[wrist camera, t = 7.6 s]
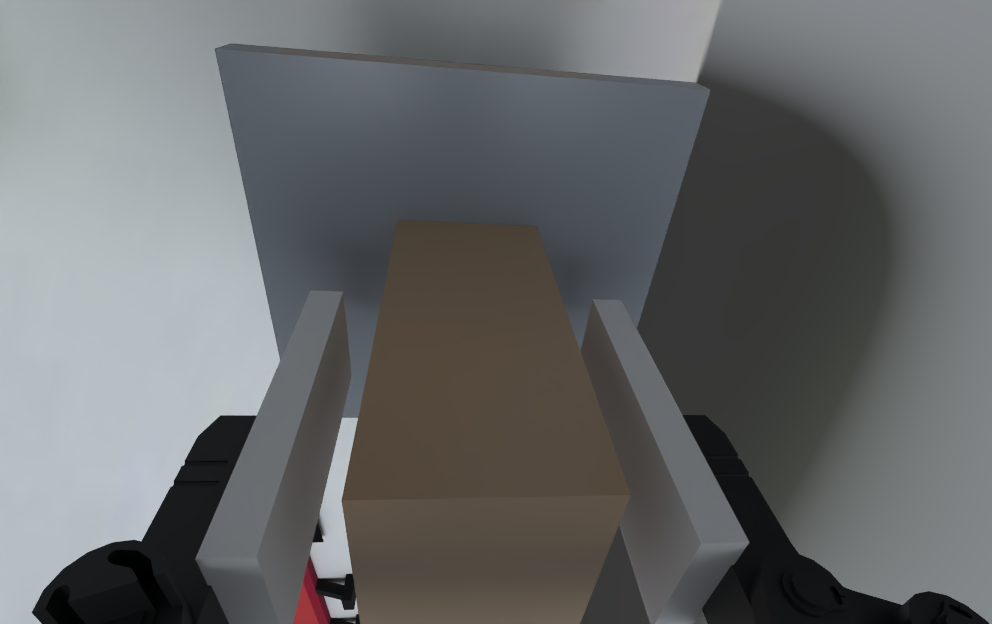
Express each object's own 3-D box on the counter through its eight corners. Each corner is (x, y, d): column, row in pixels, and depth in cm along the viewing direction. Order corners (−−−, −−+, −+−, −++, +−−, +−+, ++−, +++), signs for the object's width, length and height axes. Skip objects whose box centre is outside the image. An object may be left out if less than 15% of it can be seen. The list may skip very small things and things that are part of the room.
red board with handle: (336, 487, 41) (147, 492, 40) (328, 518, 39) (128, 525, 38) (373, 640, 58) (243, 647, 57) (370, 668, 56) (234, 675, 55)
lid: (230, 43, 12) (-238, 198, 4) (694, 82, 13) (1084, 257, 5) (299, 397, 19) (184, 729, 11) (602, 399, 20) (708, 692, 12)
